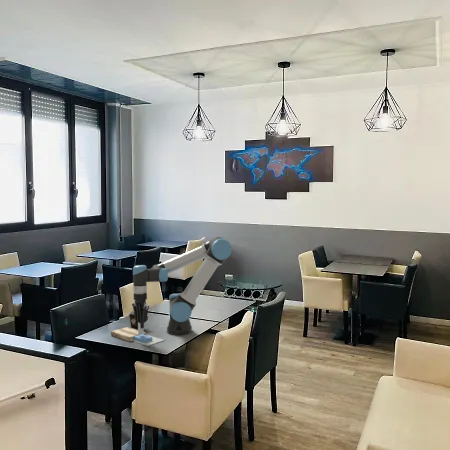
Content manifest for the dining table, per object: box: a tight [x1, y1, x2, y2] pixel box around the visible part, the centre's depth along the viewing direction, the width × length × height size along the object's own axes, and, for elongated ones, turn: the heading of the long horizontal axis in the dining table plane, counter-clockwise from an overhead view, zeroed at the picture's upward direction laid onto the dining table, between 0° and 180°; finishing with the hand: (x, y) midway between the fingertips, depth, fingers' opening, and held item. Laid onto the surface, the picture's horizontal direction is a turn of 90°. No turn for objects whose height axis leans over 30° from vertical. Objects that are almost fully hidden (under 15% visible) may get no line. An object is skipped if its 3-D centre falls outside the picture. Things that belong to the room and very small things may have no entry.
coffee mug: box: [128, 310, 149, 330], centre depth 277 cm, size 12×9×10 cm
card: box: [134, 334, 152, 343], centre depth 252 cm, size 9×6×2 cm, turn 49°
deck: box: [110, 326, 147, 343], centre depth 262 cm, size 12×18×2 cm, turn 49°
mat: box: [131, 334, 165, 347], centre depth 253 cm, size 12×14×1 cm
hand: (141, 333), depth 254 cm, fingers closed
